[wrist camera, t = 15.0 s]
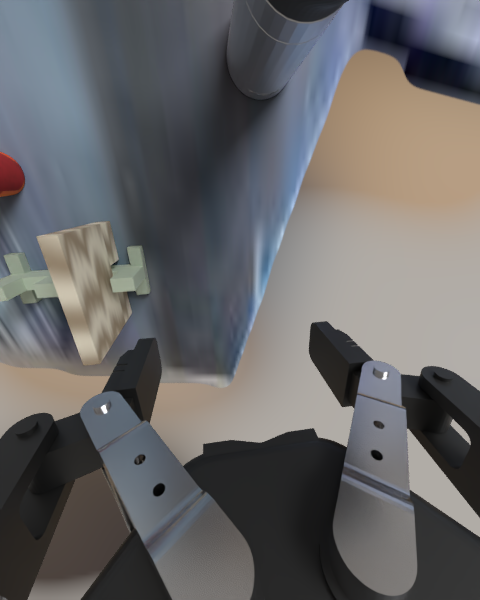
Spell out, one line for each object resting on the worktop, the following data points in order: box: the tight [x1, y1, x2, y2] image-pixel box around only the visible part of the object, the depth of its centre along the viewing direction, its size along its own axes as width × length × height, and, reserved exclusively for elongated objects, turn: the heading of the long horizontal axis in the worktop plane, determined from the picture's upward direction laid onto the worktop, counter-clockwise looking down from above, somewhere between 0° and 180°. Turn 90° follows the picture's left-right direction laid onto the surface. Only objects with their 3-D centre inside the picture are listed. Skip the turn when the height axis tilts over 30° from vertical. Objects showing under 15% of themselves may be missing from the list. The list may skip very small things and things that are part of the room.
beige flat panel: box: [37, 221, 132, 366], centre depth 35 cm, size 16×2×15 cm, turn 3°
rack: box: [0, 246, 151, 304], centre depth 38 cm, size 8×20×8 cm, turn 92°
